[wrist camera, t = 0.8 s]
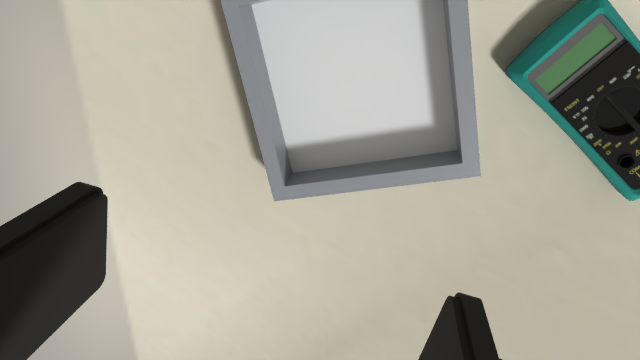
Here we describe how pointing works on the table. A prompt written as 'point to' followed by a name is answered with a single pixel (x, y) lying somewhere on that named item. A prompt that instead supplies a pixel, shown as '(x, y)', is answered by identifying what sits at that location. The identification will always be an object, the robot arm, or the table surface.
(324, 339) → the table surface
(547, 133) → the table surface
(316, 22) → the square open box
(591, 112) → the digital multimeter
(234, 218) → the table surface
